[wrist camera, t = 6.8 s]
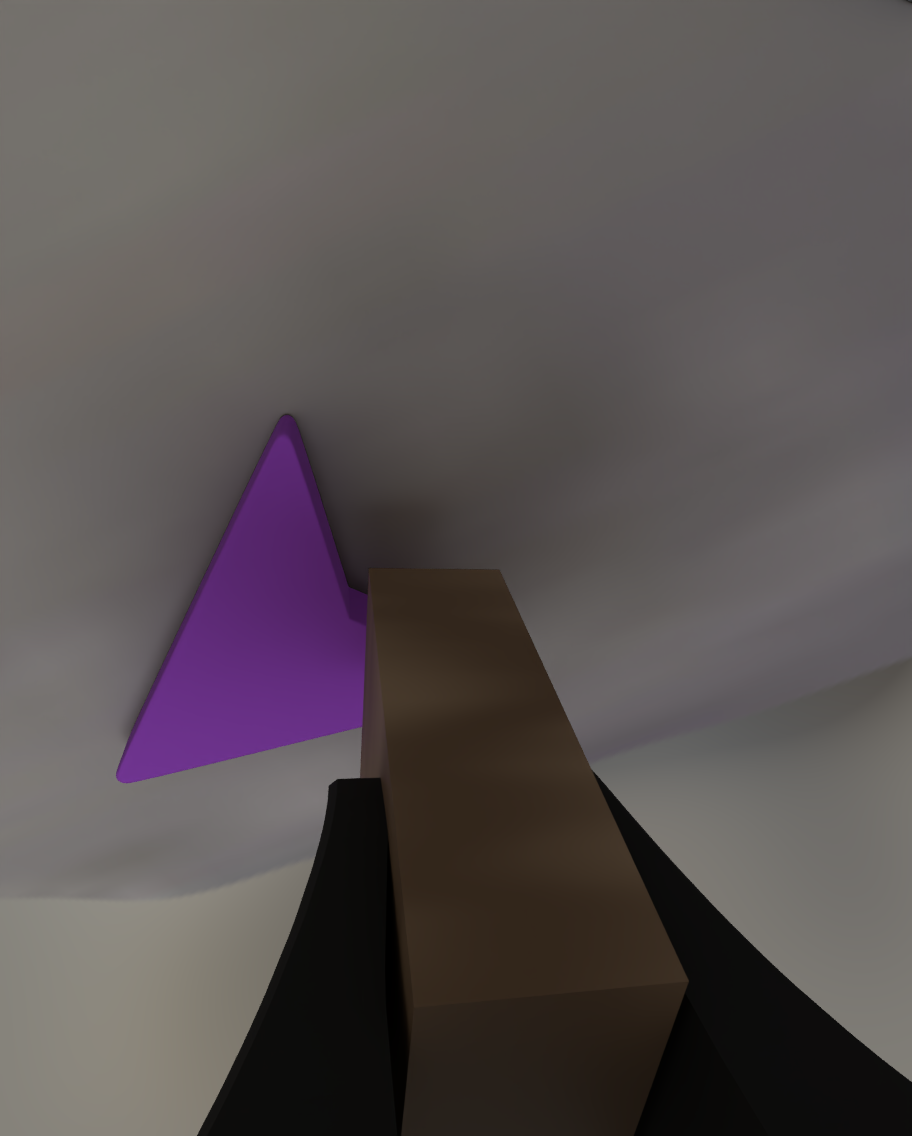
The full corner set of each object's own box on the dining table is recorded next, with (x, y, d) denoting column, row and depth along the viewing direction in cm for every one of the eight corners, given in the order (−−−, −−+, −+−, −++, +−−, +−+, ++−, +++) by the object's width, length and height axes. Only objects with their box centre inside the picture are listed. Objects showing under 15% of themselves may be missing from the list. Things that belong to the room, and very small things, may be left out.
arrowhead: (564, 466, 16) (484, 791, 21) (546, 444, 18) (474, 752, 22) (91, 413, 14) (114, 785, 19) (113, 391, 16) (129, 743, 20)
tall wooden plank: (499, 569, 13) (688, 981, 6) (472, 777, 16) (590, 1256, 8) (368, 568, 13) (415, 1008, 6) (359, 782, 15) (385, 1290, 8)
